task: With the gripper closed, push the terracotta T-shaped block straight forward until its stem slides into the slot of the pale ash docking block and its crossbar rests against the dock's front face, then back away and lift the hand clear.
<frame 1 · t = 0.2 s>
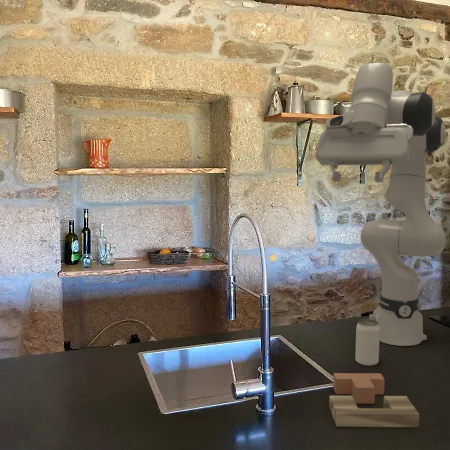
hand: (356, 180, 108), 54 cm above the worktop, tool tilted 30°, fingers open, 8 cm apart
dock: (372, 417, 113), on the worktop
t block: (360, 395, 124), on the worktop
can: (366, 362, 144), on the worktop
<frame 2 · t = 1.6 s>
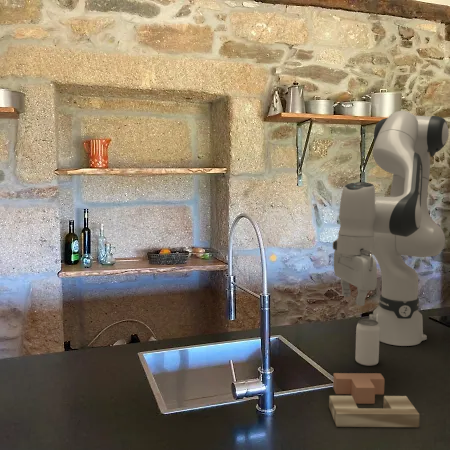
hand: (352, 300, 127), 23 cm above the worktop, tool pointing down, fingers open, 8 cm apart
nothing on the worktop moved.
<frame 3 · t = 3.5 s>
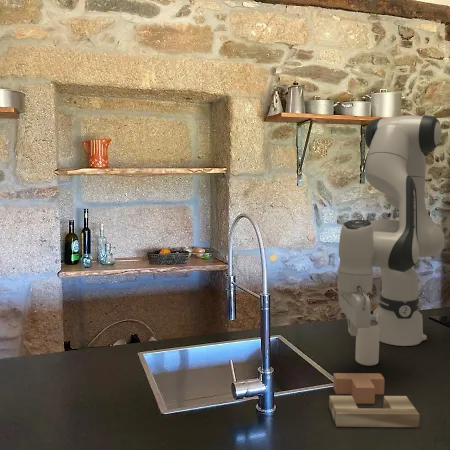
hand: (352, 334, 131), 13 cm above the worktop, tool pointing down, fingers closed
nothing on the worktop moved.
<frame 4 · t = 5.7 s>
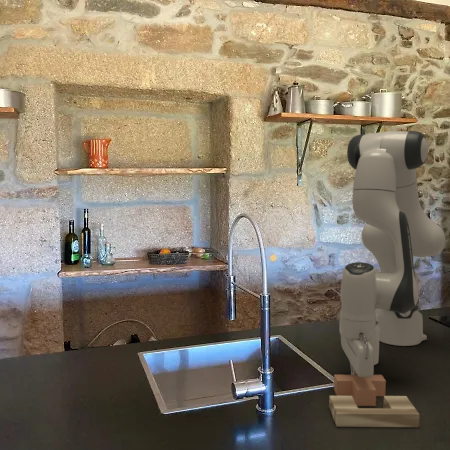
hand: (355, 378, 128), 2 cm above the worktop, tool pointing down, fingers closed
t block: (361, 397, 123), on the worktop, touching gripper
everything else where it was.
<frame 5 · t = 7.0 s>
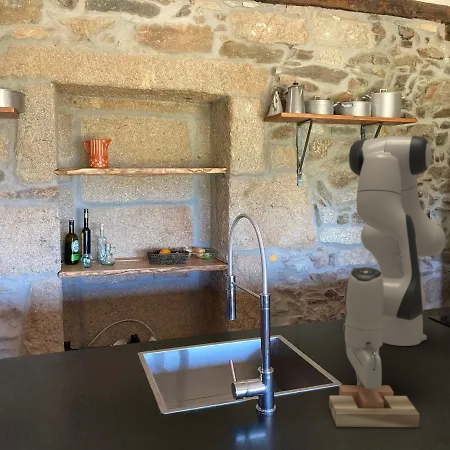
hand: (361, 390, 122), 2 cm above the worktop, tool pointing down, fingers closed
t block: (368, 409, 117), on the worktop, touching dock, gripper
everything else where it was.
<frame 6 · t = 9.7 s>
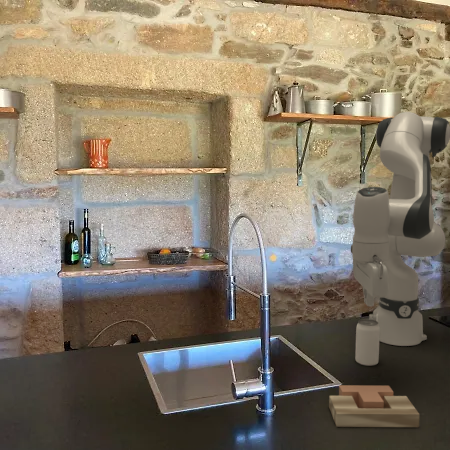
hand: (369, 304, 128), 21 cm above the worktop, tool pointing down, fingers closed
t block: (368, 409, 117), on the worktop
everything else where it was.
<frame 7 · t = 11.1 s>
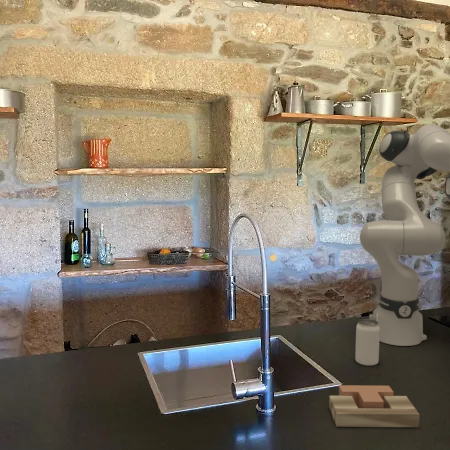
nothing on the worktop moved.
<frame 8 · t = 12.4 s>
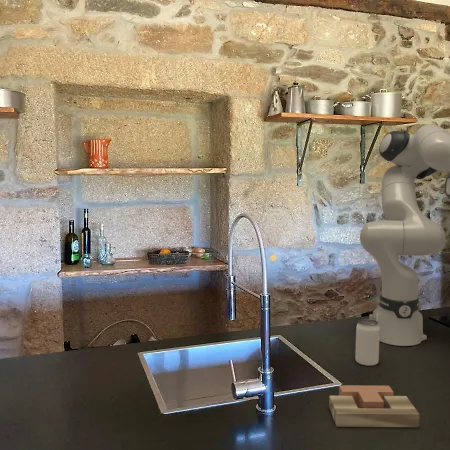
nothing on the worktop moved.
at the end: t block 0.2 cm from the target spot on the dock, point 0.0 cm above the dock's base; t block tilted 1° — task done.
